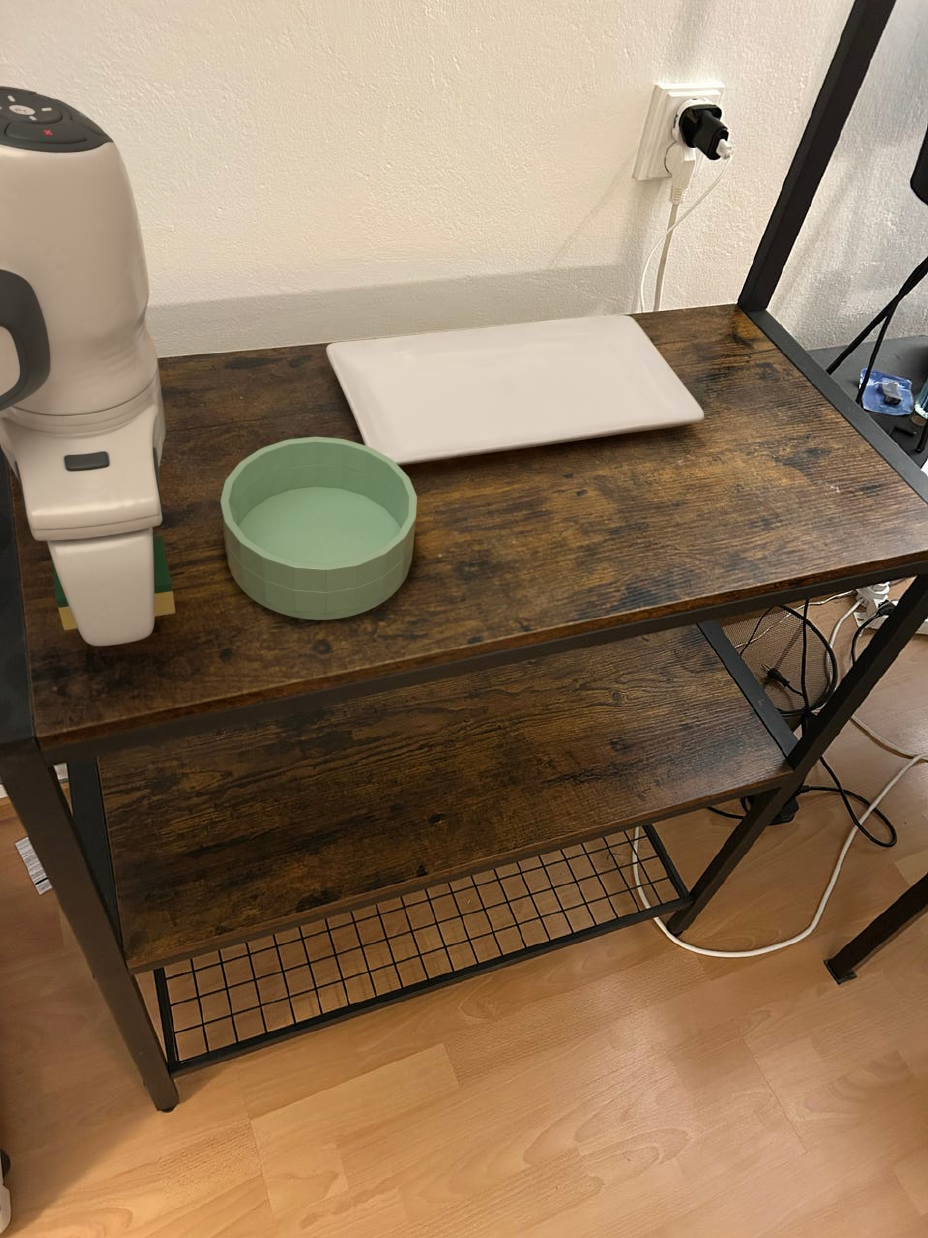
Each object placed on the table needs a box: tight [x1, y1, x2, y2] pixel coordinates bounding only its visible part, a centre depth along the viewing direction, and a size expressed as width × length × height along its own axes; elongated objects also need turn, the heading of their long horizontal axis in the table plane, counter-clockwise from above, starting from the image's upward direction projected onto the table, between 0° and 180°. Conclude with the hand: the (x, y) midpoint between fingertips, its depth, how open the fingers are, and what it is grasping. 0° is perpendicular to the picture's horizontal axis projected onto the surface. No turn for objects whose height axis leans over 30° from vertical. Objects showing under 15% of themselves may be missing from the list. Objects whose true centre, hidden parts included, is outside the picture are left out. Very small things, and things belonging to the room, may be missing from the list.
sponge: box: [51, 535, 176, 631], centre depth 64 cm, size 7×4×3 cm, turn 109°
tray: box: [325, 314, 705, 466], centre depth 89 cm, size 17×32×4 cm, turn 110°
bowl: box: [219, 436, 418, 621], centre depth 73 cm, size 14×14×6 cm
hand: (113, 581), depth 64 cm, fingers closed on sponge, 4 cm apart
